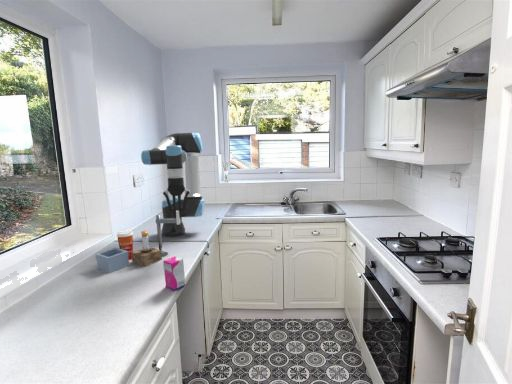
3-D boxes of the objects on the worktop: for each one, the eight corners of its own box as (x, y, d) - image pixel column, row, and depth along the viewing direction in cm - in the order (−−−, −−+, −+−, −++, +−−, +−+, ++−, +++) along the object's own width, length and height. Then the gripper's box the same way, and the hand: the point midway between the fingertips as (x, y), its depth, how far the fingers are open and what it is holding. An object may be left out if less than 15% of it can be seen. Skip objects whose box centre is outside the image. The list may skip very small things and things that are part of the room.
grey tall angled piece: (158, 253, 153) (155, 216, 150) (159, 251, 155) (156, 214, 152) (182, 252, 153) (179, 215, 150) (183, 251, 155) (181, 214, 152)
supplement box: (177, 281, 124) (175, 255, 122) (185, 285, 120) (184, 258, 118) (165, 286, 120) (162, 260, 118) (173, 291, 116) (171, 263, 114)
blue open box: (117, 261, 148) (115, 247, 147) (129, 265, 143) (127, 251, 141) (97, 268, 140) (95, 254, 139) (109, 272, 134) (107, 258, 133)
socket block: (149, 255, 154) (148, 246, 154) (161, 259, 149) (161, 249, 148) (132, 262, 146) (131, 252, 145) (144, 266, 141) (144, 256, 140)
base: (161, 252, 158) (161, 250, 158) (168, 254, 155) (167, 252, 155) (153, 255, 154) (153, 253, 154) (160, 257, 151) (160, 255, 151)
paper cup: (117, 262, 146) (115, 235, 144) (120, 256, 154) (117, 230, 152) (134, 260, 148) (132, 233, 146) (136, 255, 156) (134, 229, 154)
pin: (147, 259, 150) (145, 230, 147) (151, 260, 148) (149, 231, 146) (142, 261, 147) (140, 232, 145) (146, 262, 145) (144, 233, 143)
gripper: (160, 178, 140) (164, 226, 144) (188, 177, 143) (191, 224, 146) (162, 177, 147) (165, 222, 151) (189, 175, 150) (191, 221, 154)
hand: (178, 223), depth 149 cm, fingers closed
